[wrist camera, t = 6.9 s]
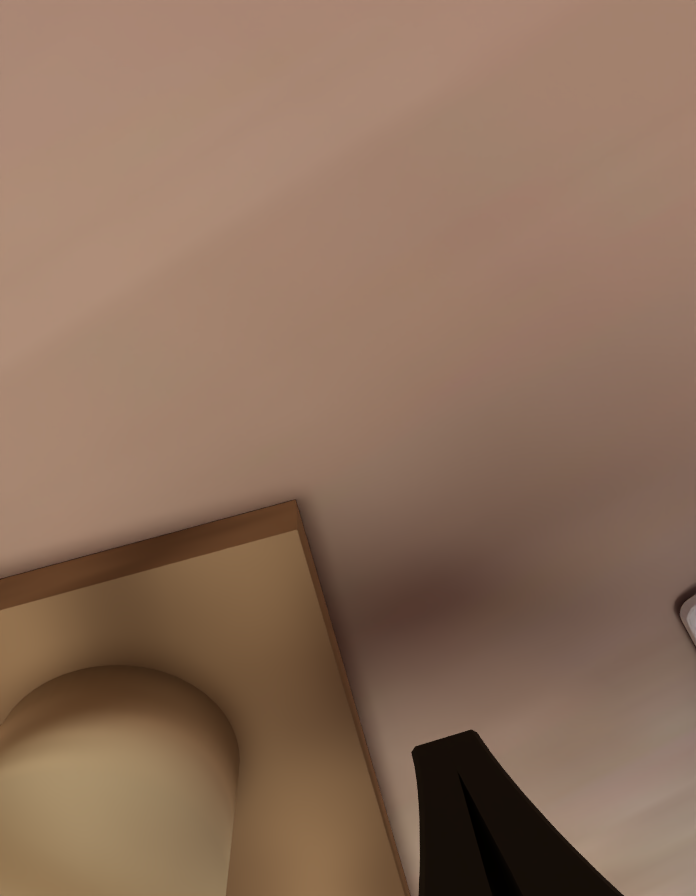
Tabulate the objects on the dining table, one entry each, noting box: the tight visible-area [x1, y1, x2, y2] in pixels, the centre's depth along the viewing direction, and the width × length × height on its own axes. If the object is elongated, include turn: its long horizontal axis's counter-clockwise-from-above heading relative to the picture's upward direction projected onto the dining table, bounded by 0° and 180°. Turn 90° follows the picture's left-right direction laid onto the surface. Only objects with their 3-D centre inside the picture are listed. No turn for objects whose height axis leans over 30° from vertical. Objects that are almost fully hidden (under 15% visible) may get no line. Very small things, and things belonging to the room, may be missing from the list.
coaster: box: [0, 665, 240, 896], centre depth 12 cm, size 6×6×3 cm
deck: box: [0, 500, 410, 896], centre depth 15 cm, size 10×18×2 cm, turn 14°
